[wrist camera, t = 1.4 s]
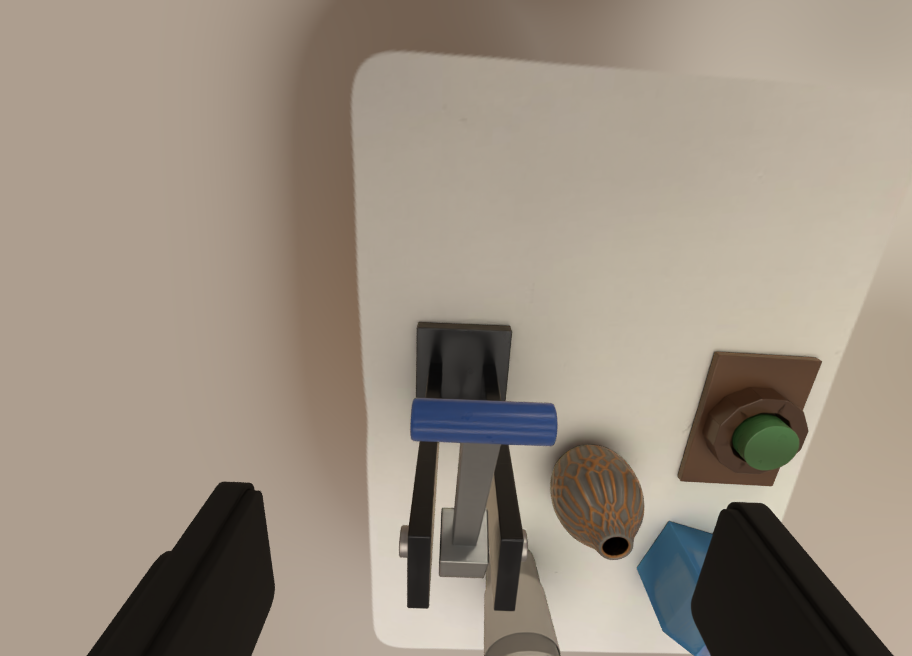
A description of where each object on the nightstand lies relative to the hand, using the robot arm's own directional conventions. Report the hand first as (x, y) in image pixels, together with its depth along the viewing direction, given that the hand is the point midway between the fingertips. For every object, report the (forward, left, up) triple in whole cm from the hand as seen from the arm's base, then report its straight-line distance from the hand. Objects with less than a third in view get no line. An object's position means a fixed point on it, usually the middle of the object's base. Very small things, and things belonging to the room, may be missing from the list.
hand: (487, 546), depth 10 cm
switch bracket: (+10, -2, -26) cm, 28 cm away
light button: (+18, +20, -24) cm, 36 cm away
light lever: (+5, -1, -8) cm, 9 cm away
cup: (+30, -2, -26) cm, 40 cm away
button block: (+18, +20, -26) cm, 37 cm away
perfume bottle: (+32, +14, -26) cm, 44 cm away
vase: (+20, +6, -26) cm, 33 cm away
